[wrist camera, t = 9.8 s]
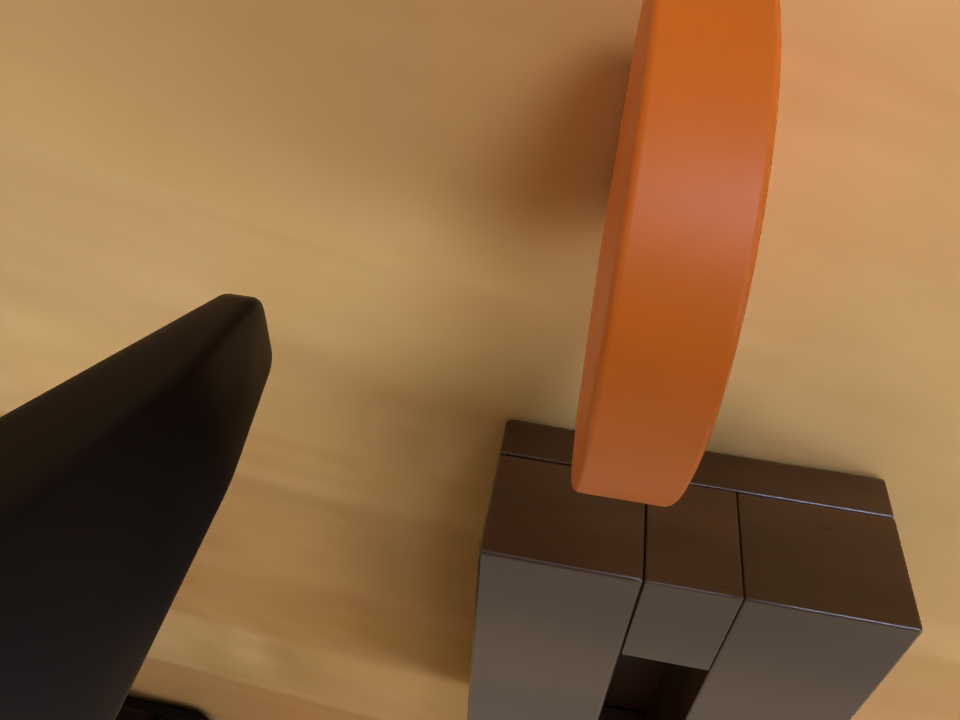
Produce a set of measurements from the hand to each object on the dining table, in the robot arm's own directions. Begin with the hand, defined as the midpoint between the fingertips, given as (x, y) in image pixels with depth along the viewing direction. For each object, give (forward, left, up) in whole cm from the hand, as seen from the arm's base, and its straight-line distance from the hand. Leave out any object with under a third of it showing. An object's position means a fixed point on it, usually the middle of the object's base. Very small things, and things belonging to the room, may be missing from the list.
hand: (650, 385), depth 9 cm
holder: (-13, -2, -5) cm, 14 cm away
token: (0, 0, -5) cm, 5 cm away
